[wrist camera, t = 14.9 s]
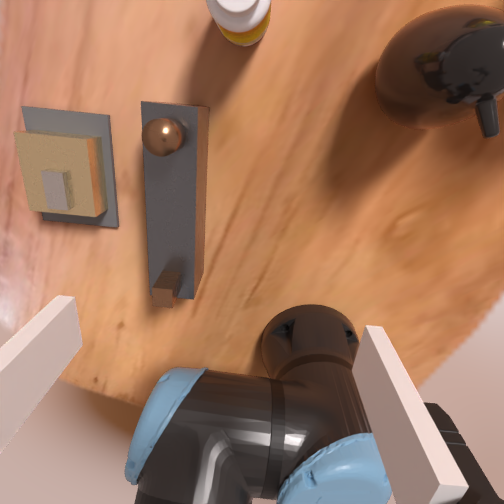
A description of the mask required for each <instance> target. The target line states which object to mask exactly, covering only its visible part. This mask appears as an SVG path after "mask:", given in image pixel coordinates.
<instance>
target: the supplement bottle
mask: <svg viewBox="0 0 504 504" xmlns="http://www.w3.org/2000/svg"><path fill="white" fill-rule="evenodd" d="M206 2H207V6H208V9H209V11H210V13H211V15H212V17H213V18H214V20H215V22H216V24H217V26H218V27H219V29H220V31H221V33H222V34H223V35H224V37H225V38H226V39H227V40H228V41H229V42H231V43H233V44H235V45H238V46H250V45H252V44H254V43H256V42H257V41H259V40H260V39H261V38H262V37H263V35H264V34H265V32H266V30H267V28H268V25H269V21H270V12H271V0H206Z"/></svg>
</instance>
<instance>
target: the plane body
mask: <svg viewBox="0 0 504 504" xmlns="http://www.w3.org/2000/svg"><path fill="white" fill-rule="evenodd" d="M141 115H142V141H143V157H144V178H145V199H146V220H147V241H148V262H149V283H150V295H152V300H153V306H156V307H167V308H173V306H174V303H175V301H176V299H177V298H184V299H194V298H195V295H196V292H197V289H198V287H199V284H200V281H201V278H202V275H203V271H204V242H205V213H206V185H207V156H208V127H209V107H204V106H194V105H185V104H175V103H166V102H148V101H141Z"/></svg>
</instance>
